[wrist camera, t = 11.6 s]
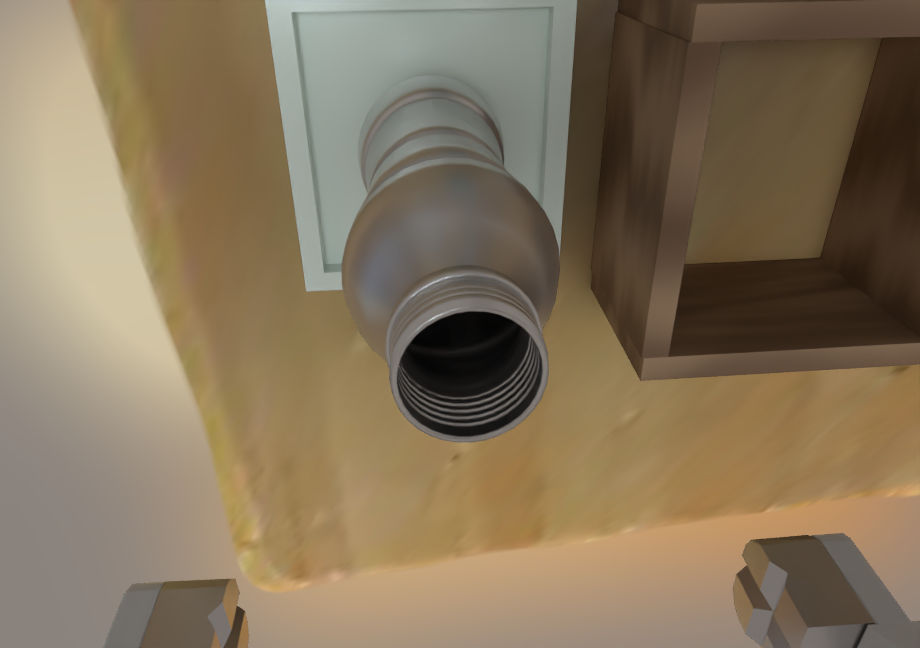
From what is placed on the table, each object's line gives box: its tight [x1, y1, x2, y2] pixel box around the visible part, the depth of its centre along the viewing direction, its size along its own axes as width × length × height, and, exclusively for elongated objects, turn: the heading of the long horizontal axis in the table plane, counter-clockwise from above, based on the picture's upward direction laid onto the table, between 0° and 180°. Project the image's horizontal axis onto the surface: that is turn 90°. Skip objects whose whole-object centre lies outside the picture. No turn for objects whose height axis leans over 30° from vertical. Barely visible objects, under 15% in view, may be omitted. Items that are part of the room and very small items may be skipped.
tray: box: [265, 0, 577, 291], centre depth 33 cm, size 14×13×2 cm
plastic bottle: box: [342, 75, 560, 442], centre depth 24 cm, size 6×7×20 cm
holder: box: [591, 0, 920, 381], centre depth 31 cm, size 15×14×9 cm
